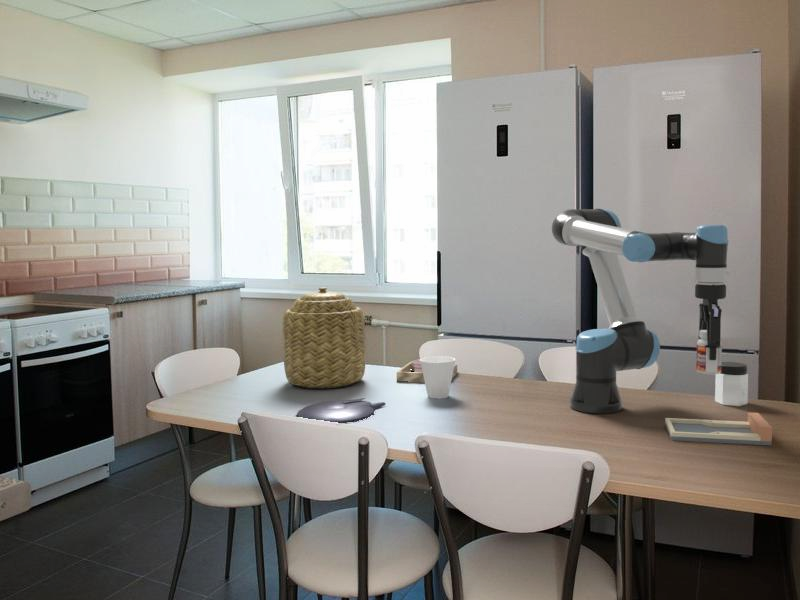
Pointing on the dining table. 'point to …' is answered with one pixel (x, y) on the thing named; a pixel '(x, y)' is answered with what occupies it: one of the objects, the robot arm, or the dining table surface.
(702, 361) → the pill bottle
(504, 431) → the dining table surface
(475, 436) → the dining table surface
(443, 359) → the cup
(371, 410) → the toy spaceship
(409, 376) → the birch tray rim
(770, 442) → the keyhole board
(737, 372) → the jar
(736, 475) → the dining table surface
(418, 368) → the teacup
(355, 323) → the basket
